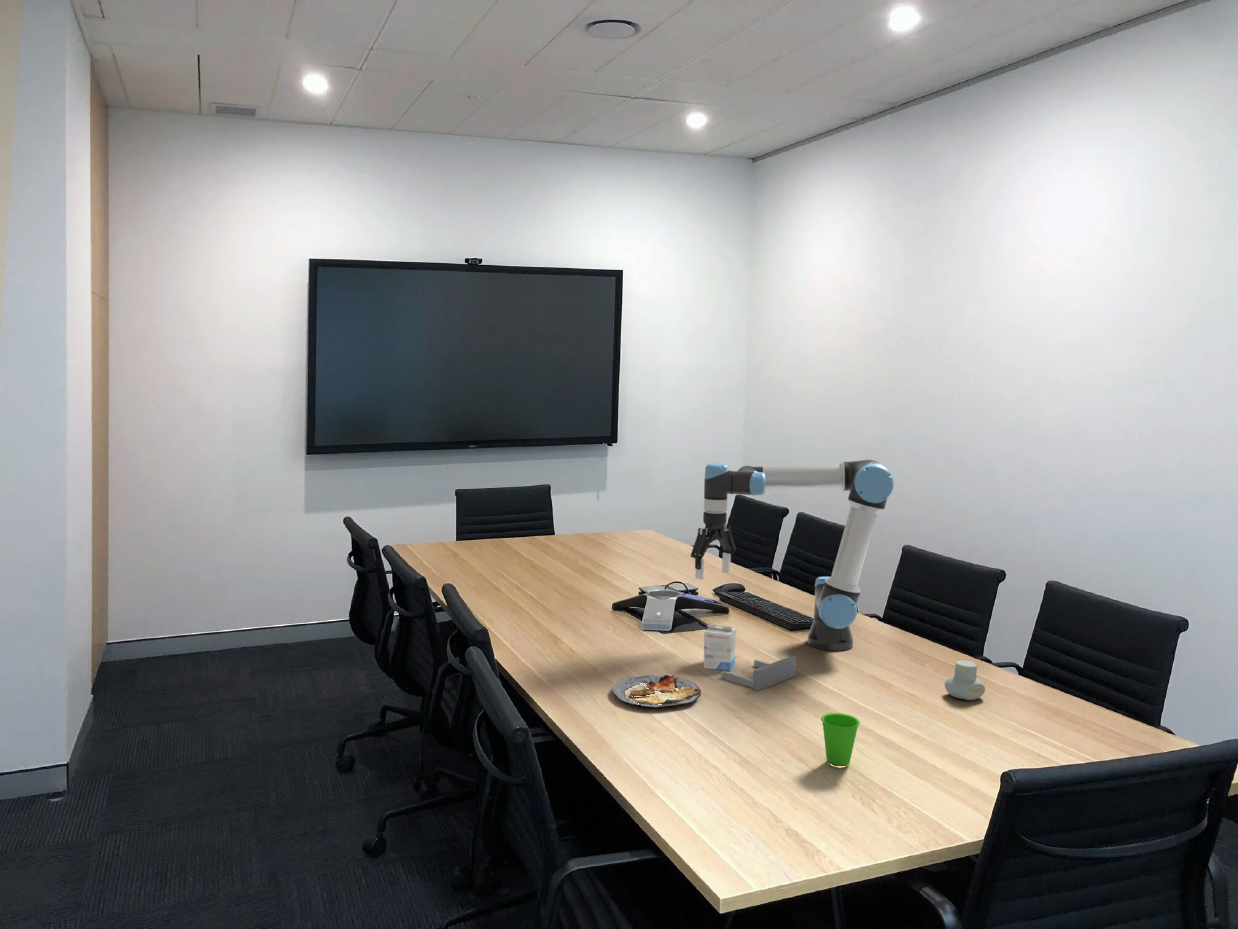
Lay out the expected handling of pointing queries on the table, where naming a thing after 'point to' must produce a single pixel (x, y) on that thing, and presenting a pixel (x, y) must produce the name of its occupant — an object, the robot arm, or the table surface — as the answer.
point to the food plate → (658, 683)
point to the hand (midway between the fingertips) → (712, 575)
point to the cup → (839, 737)
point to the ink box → (719, 647)
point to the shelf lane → (766, 673)
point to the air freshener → (965, 682)
